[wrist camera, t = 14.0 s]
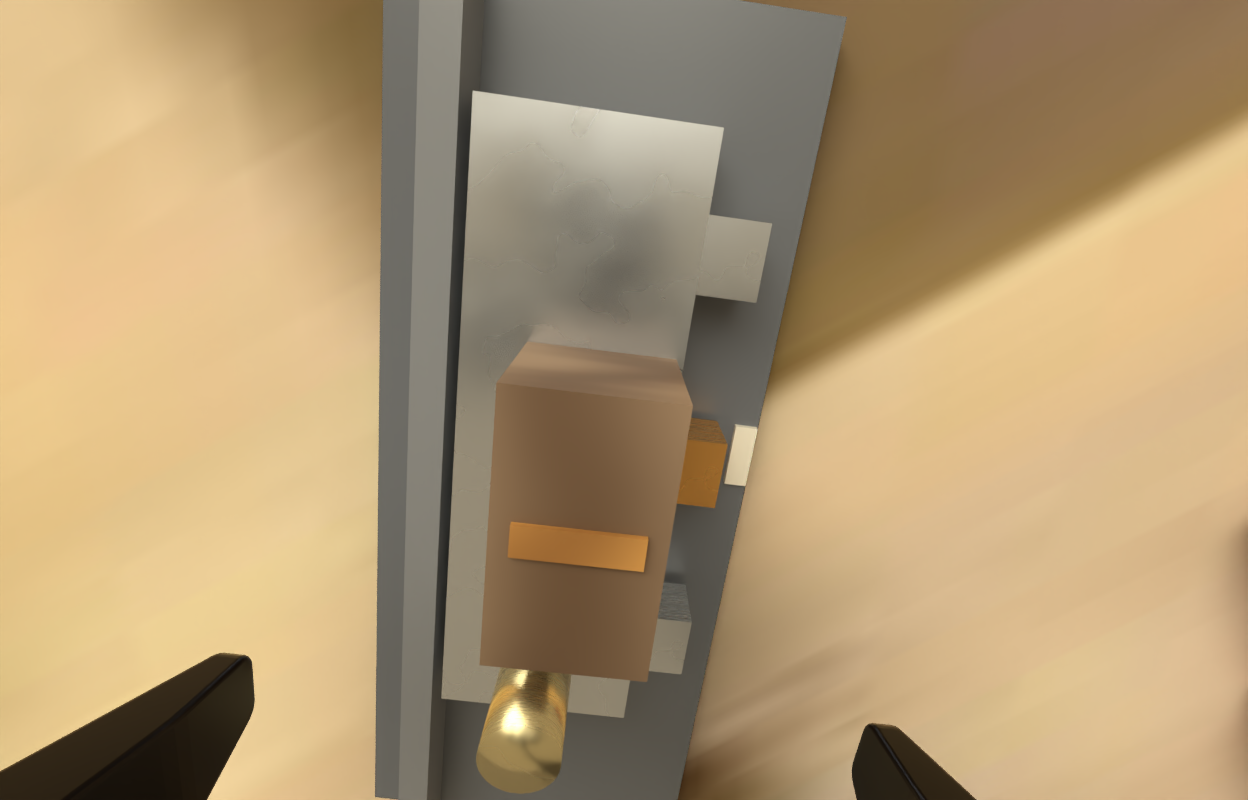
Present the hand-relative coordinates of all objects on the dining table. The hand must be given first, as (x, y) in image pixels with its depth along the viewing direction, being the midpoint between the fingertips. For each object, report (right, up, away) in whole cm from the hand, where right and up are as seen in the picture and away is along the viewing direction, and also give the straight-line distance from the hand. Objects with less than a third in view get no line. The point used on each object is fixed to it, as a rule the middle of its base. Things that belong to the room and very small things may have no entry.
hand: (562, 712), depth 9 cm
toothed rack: (0, +3, +10) cm, 11 cm away
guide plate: (-1, +2, +12) cm, 12 cm away
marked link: (0, +3, +8) cm, 9 cm away
